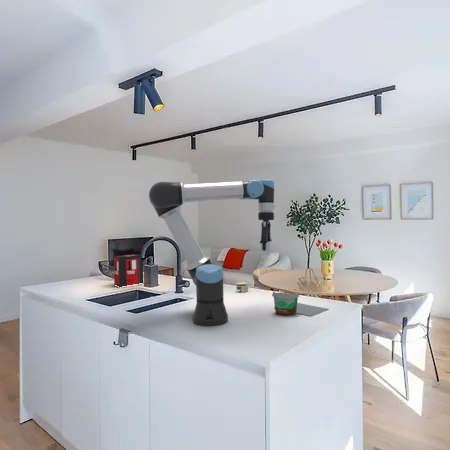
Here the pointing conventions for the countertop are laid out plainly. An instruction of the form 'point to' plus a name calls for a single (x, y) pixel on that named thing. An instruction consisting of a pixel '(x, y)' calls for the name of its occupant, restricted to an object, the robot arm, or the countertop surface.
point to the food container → (285, 303)
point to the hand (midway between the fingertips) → (265, 256)
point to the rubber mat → (308, 309)
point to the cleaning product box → (128, 270)
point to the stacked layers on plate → (242, 287)
